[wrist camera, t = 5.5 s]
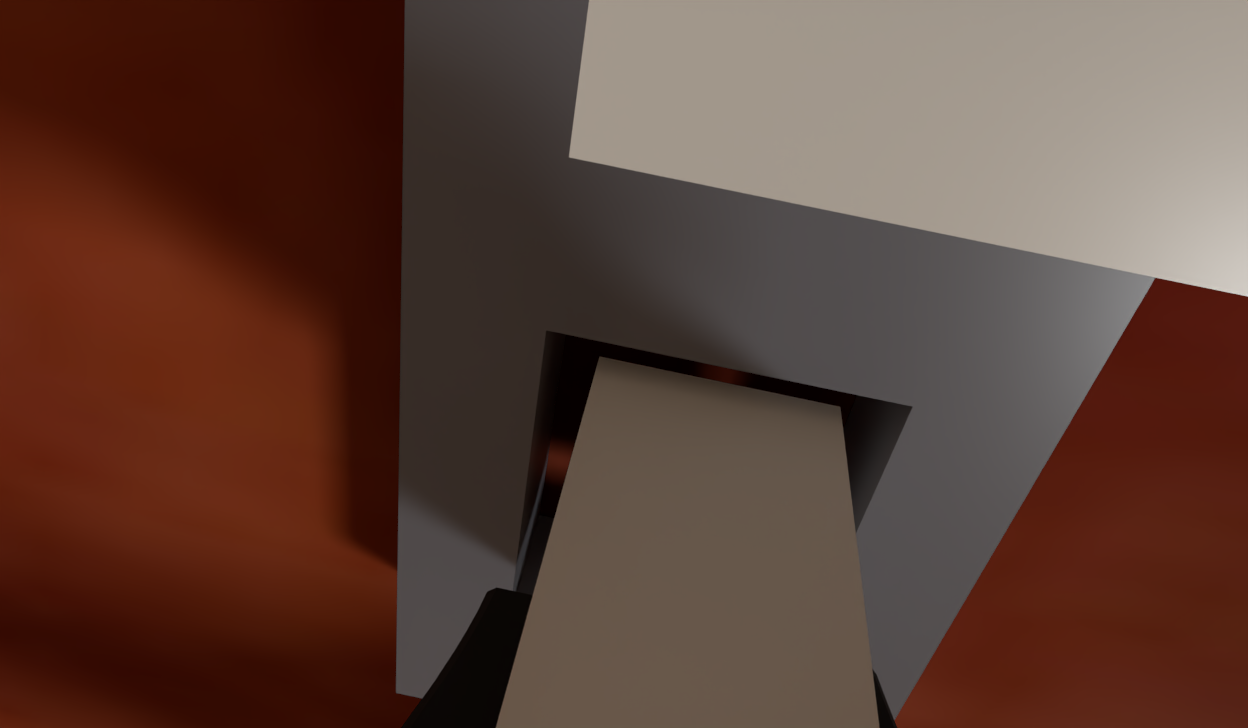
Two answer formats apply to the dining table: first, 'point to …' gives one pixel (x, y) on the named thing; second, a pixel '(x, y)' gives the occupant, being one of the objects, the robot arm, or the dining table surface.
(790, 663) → the plug
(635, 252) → the power strip
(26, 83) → the dining table surface
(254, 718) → the dining table surface
